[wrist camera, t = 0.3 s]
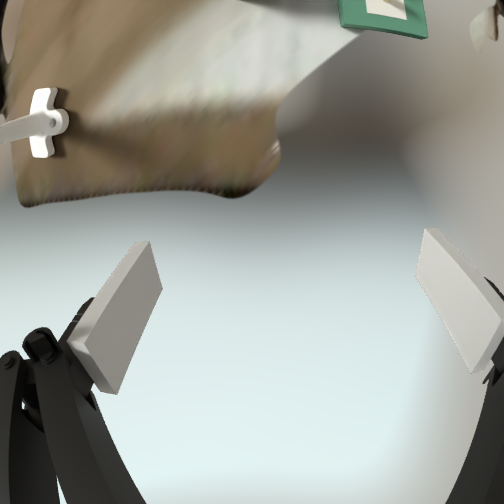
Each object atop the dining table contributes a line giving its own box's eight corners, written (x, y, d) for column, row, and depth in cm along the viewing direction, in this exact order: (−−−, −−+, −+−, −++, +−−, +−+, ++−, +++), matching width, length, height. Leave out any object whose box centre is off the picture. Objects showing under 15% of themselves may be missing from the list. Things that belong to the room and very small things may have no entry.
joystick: (39, 89, 31) (-57, 109, 14) (73, 85, 32) (-30, 100, 14) (37, 153, 37) (-51, 197, 19) (69, 155, 37) (-24, 202, 20)
